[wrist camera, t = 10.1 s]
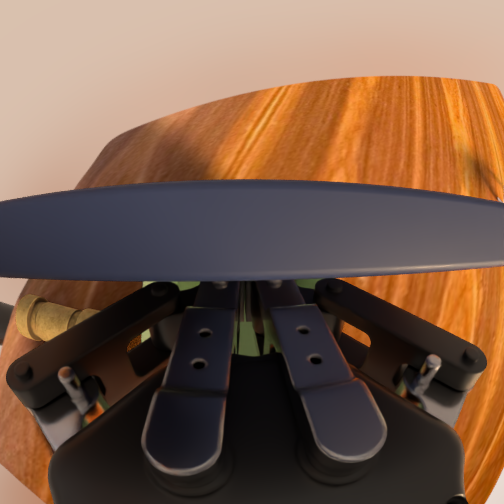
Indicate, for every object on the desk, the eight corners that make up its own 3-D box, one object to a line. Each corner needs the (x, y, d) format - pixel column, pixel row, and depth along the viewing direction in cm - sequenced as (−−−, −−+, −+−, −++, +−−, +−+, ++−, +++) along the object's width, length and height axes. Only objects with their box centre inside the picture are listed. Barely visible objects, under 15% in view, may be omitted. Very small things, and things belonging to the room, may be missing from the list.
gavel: (99, 508, 15) (24, 471, 15) (114, 489, 19) (44, 460, 19) (94, 310, 20) (17, 290, 20) (116, 313, 25) (42, 296, 25)
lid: (572, 258, 3) (574, 219, 3) (-92, 270, 2) (-94, 225, 2) (330, 229, 19) (330, 217, 19) (145, 231, 18) (145, 220, 18)
